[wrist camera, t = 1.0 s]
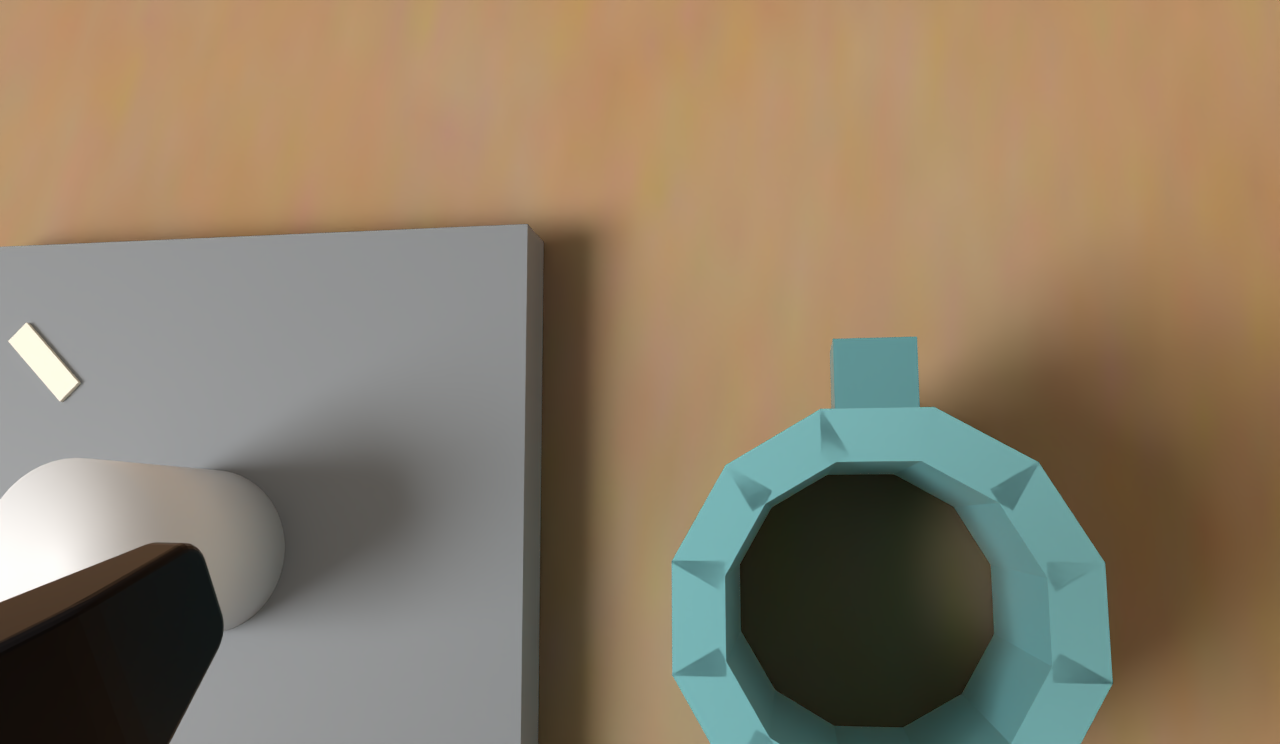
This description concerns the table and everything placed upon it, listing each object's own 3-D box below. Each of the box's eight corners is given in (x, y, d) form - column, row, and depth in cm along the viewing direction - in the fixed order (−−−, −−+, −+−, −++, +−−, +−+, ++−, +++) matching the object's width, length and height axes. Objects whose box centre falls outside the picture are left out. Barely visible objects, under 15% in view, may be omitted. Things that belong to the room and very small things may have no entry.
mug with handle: (1047, 777, 21) (1123, 854, 16) (700, 766, 22) (673, 836, 17) (1026, 373, 22) (1091, 332, 17) (696, 380, 23) (670, 343, 18)
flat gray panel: (536, 884, 22) (443, 1014, 16) (-56, 856, 24) (-327, 962, 18) (543, 242, 24) (463, 152, 18) (-5, 264, 26) (-235, 190, 20)
